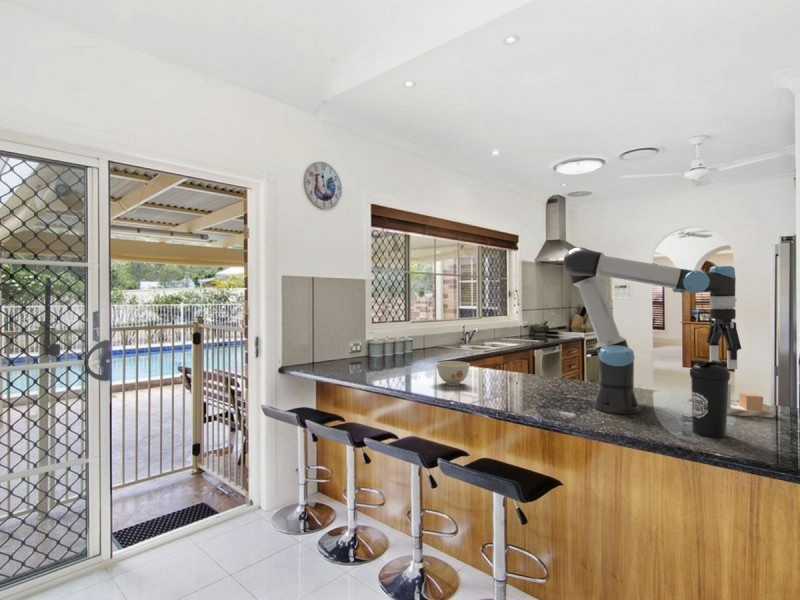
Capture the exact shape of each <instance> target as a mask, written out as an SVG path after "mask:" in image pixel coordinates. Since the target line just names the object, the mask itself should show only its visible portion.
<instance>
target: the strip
mask: <svg viewBox="0 0 800 600" xmlns="http://www.w3.org/2000/svg"><path fill="white" fill-rule="evenodd" d="M731 387H732V384H731V383H730V382H728V404H727V410H742V411H759V410H746V409H744V408H742V407H740V406H733V405H730V404H731V399H732V398H731V395H732V394H731V389H732V388H731ZM760 412H773V405H772V404H769V403H767V402H764V401H763V411H760Z"/></svg>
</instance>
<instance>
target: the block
mask: <svg viewBox="0 0 800 600" xmlns="http://www.w3.org/2000/svg"><path fill="white" fill-rule="evenodd" d="M738 393H739V395H738V397H739V398H738V399H739V400H738V401H739V406H740V407H742V408H744V409H746V410H759V411H763V402H764V397H763V396H762V395H759V394H757V393H755V392H754V393H752V392H751V393H750V392H738Z"/></svg>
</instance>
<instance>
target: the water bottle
mask: <svg viewBox="0 0 800 600" xmlns="http://www.w3.org/2000/svg"><path fill="white" fill-rule="evenodd" d="M694 363H695V364H694V365H693V366H691V368H690V369H689V376H690V379H691V380H690V381H691V382H690V383H691V398H692V405H691V417H692V419H691V420H692V421H691V422H692V423H691V425H692V426H691V427H692V432H693V434H695V435H698V436H701V437H703V438H711V439H725V438H726V437H727V421H728V415H727V404H728V383H730V382H729V381H730V379H731V373H730V371H729V369H727V362H725V361H723V360H720V359H719V360H712V361H711V362H710V361H706V360H702V359H701V360H700V359H694Z"/></svg>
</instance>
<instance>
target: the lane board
mask: <svg viewBox="0 0 800 600" xmlns="http://www.w3.org/2000/svg"><path fill="white" fill-rule="evenodd" d="M731 401H733V402H739V400H734V399H733V400H731ZM687 403H688V404H689V405H691V406H692V397H687ZM730 405H732V404H730ZM733 406H739V405H733ZM727 416H741V417H742V416H744V417H746V416H747V417H760V418H761V417H762V418H775V413H774V412H773V411H772V412H760V411H742V410H727Z"/></svg>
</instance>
